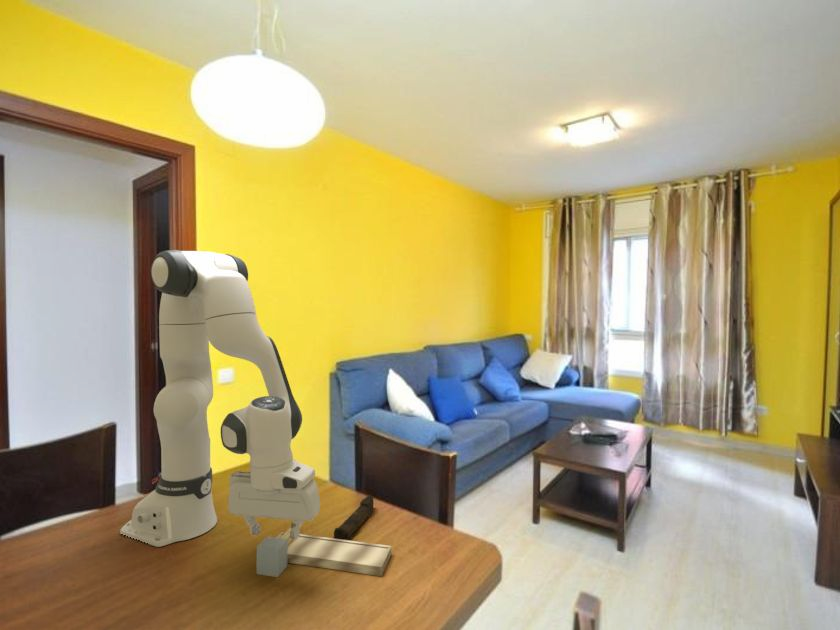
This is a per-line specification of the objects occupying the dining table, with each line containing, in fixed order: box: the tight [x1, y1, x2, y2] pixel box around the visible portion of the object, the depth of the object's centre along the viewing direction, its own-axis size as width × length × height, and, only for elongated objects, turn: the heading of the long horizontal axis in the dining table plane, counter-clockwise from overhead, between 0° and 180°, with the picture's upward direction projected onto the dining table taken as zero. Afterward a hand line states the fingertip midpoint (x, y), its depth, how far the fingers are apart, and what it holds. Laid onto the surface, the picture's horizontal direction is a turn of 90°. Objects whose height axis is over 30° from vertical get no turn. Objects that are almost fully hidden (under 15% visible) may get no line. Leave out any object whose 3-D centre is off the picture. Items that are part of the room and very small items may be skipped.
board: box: [275, 531, 393, 577], centre depth 97 cm, size 28×8×2 cm, turn 79°
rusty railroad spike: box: [333, 494, 374, 541], centre depth 111 cm, size 19×4×5 cm, turn 159°
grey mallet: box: [256, 521, 296, 578], centre depth 96 cm, size 5×12×6 cm, turn 168°
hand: (275, 535), depth 91 cm, fingers open, 8 cm apart
